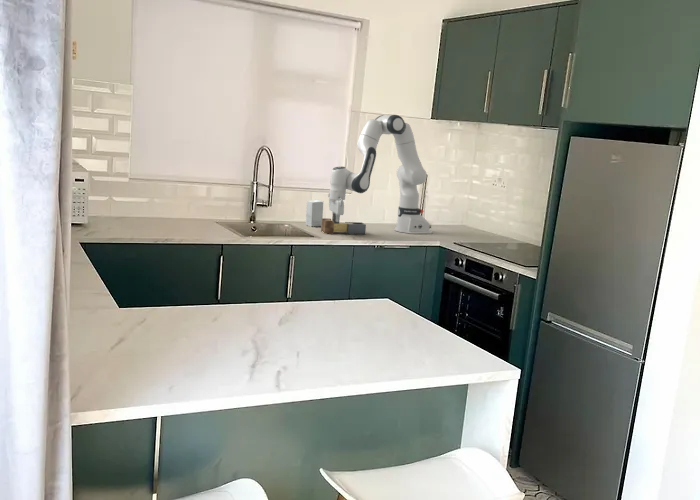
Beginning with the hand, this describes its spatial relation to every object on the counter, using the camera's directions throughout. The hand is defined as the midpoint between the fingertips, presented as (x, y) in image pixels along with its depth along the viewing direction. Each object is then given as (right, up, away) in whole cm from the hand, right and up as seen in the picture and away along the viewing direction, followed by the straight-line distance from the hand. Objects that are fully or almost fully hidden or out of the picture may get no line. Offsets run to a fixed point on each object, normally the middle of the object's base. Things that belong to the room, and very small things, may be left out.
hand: (335, 220), depth 394 cm
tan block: (+2, -7, +2) cm, 7 cm away
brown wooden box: (-5, -7, 0) cm, 8 cm away
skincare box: (-13, -2, +20) cm, 24 cm away
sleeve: (+11, -7, +4) cm, 13 cm away
